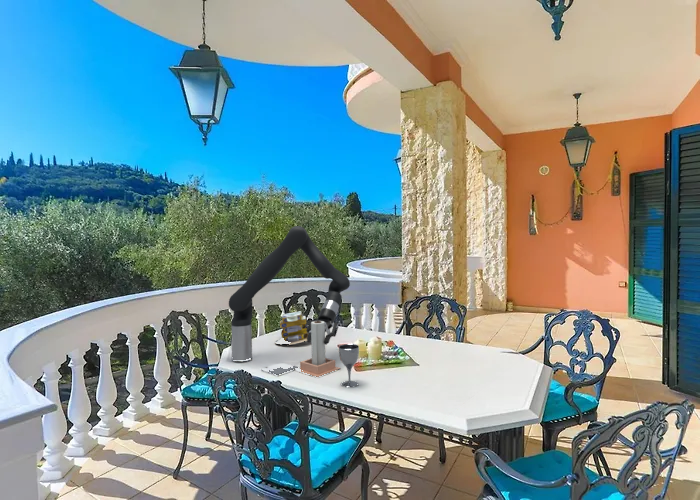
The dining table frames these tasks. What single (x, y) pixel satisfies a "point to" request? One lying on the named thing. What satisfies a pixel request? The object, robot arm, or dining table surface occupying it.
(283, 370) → the slate mat
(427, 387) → the dining table surface
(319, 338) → the tall grey box
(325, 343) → the robot arm
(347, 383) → the wine glass
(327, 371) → the terracotta square tray
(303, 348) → the dining table surface
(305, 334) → the tray of yellow jars
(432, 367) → the dining table surface
